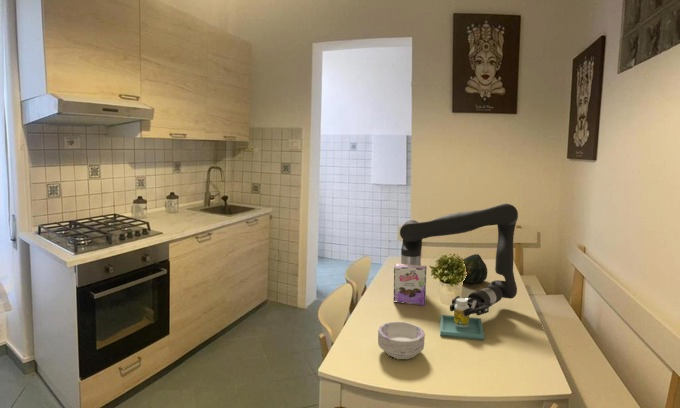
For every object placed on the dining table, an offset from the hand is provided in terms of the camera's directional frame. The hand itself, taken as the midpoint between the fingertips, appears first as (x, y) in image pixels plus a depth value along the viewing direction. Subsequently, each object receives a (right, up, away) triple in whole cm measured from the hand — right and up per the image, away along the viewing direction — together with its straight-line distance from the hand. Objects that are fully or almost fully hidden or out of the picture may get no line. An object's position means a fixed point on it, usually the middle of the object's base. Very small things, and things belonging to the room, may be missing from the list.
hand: (457, 310), depth 150 cm
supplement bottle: (+2, -6, +3) cm, 7 cm away
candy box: (-13, -4, +30) cm, 33 cm away
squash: (+23, 0, +56) cm, 61 cm away
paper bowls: (-23, -10, -14) cm, 29 cm away
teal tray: (+2, -8, +3) cm, 8 cm away
